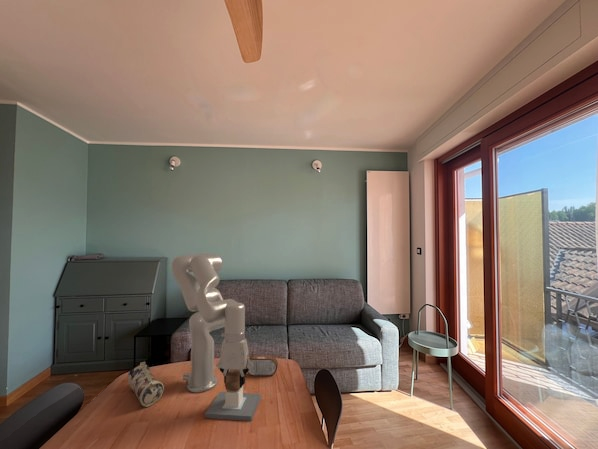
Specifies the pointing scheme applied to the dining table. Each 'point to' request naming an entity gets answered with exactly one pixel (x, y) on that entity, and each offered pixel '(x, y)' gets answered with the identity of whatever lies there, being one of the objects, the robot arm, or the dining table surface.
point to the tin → (263, 365)
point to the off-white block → (234, 397)
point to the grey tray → (234, 413)
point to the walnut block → (233, 380)
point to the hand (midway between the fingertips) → (234, 384)
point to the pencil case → (145, 385)
